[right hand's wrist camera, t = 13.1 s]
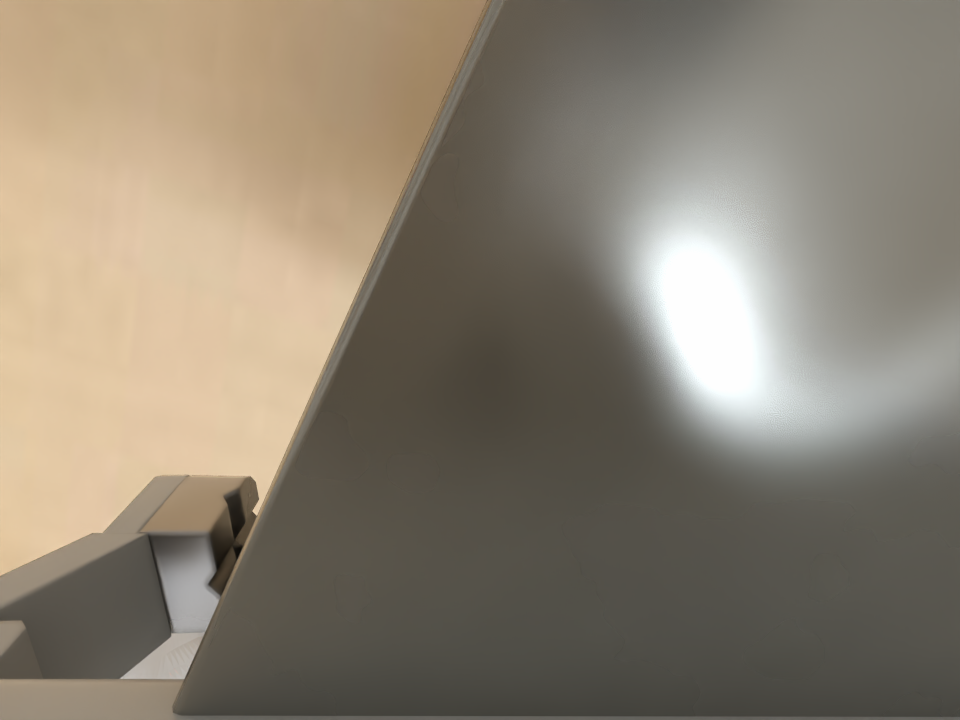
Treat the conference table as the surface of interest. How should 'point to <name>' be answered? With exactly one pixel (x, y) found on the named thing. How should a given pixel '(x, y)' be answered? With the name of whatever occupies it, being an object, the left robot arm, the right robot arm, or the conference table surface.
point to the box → (637, 388)
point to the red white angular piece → (168, 658)
